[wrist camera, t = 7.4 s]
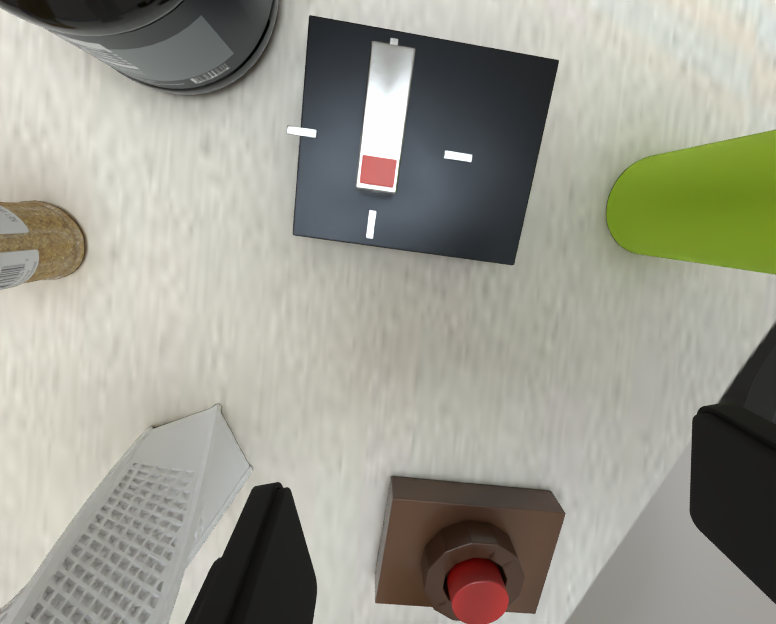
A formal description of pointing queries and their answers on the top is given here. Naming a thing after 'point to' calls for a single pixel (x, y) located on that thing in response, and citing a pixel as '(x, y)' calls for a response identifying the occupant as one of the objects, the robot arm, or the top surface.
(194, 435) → the skyscraper
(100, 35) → the supplement container
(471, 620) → the button
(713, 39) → the top surface
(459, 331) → the top surface
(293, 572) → the robot arm
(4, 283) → the sprinkles bottle
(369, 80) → the knob
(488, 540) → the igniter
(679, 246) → the lime pump bottle
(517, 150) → the hob panel
